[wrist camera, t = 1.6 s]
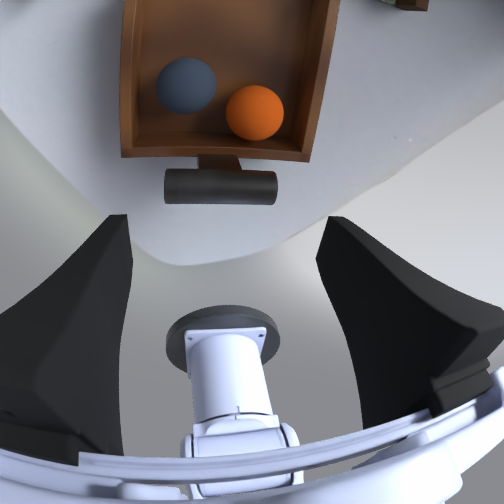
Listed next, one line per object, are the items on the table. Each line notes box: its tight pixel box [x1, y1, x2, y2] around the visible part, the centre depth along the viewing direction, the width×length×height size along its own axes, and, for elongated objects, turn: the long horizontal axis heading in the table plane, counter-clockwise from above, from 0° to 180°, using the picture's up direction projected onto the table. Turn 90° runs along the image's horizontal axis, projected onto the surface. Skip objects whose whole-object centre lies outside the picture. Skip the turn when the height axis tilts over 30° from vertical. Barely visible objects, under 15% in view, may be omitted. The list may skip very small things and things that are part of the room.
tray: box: [119, 0, 340, 205], centre depth 13 cm, size 11×10×6 cm
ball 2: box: [226, 85, 284, 141], centre depth 15 cm, size 3×3×3 cm
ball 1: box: [156, 57, 216, 114], centre depth 13 cm, size 3×3×3 cm
